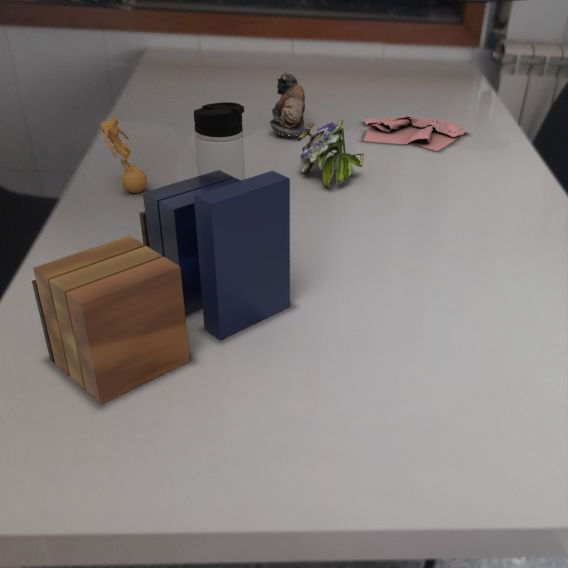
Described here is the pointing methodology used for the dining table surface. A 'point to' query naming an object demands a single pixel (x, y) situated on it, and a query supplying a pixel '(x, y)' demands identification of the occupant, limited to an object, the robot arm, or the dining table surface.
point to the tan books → (113, 316)
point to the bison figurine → (289, 107)
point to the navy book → (244, 252)
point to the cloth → (413, 132)
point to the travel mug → (220, 139)
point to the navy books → (179, 228)
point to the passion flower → (326, 143)
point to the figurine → (131, 176)
